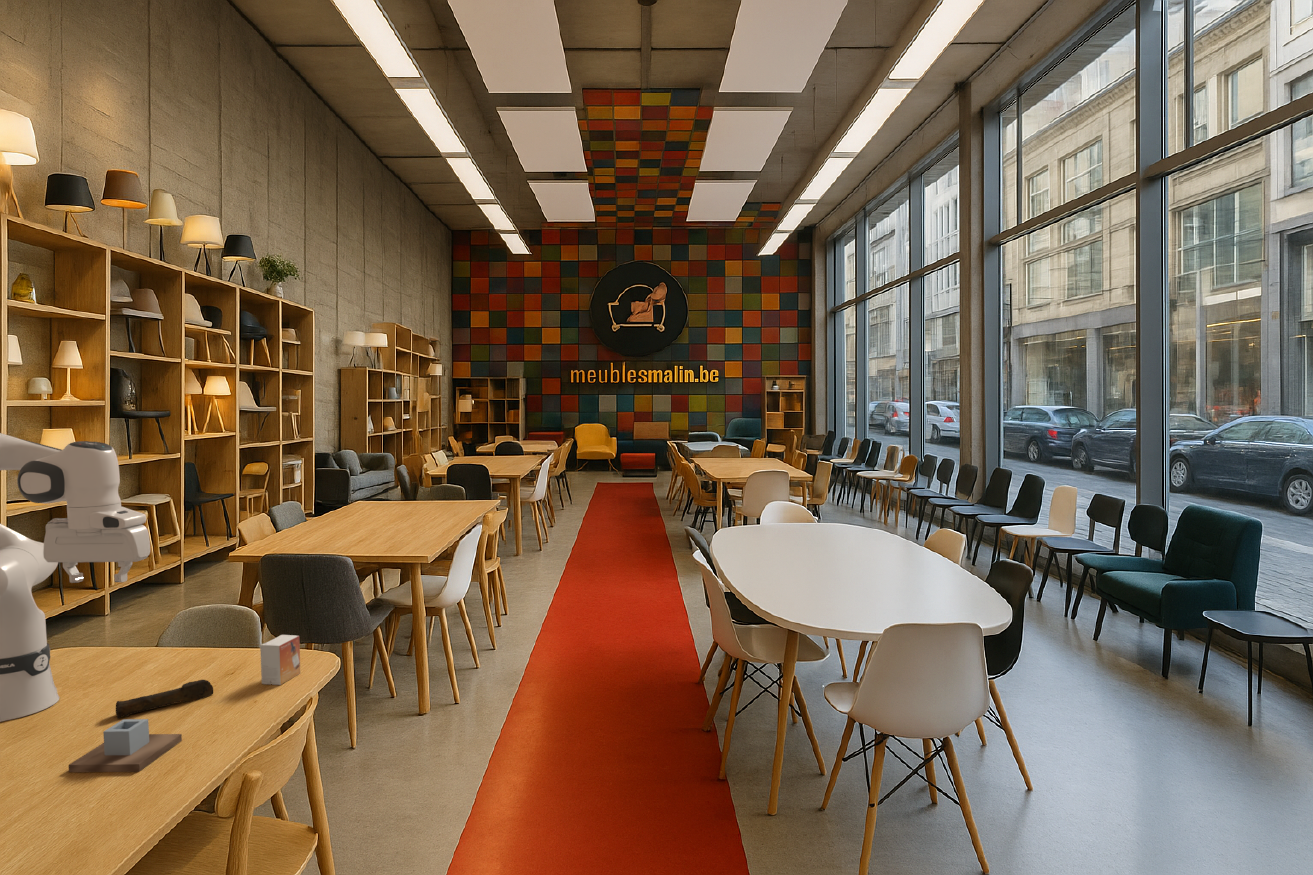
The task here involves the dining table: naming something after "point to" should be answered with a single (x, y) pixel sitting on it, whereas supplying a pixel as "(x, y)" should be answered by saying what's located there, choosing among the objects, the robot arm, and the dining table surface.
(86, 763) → the mounting plate
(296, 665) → the small box
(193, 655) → the dining table surface
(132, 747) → the collar
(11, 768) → the dining table surface
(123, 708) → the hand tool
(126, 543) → the robot arm
